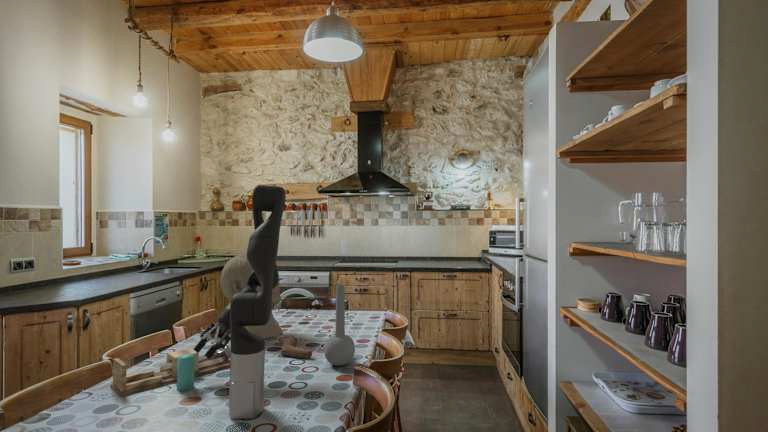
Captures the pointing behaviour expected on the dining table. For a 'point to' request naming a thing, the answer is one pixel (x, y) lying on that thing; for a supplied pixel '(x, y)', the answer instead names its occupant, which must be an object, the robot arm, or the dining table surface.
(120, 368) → the rig
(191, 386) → the cylinder
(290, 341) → the pipe
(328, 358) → the grey ball with stem
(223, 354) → the shaft
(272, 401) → the dining table surface
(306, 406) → the dining table surface
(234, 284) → the bust
